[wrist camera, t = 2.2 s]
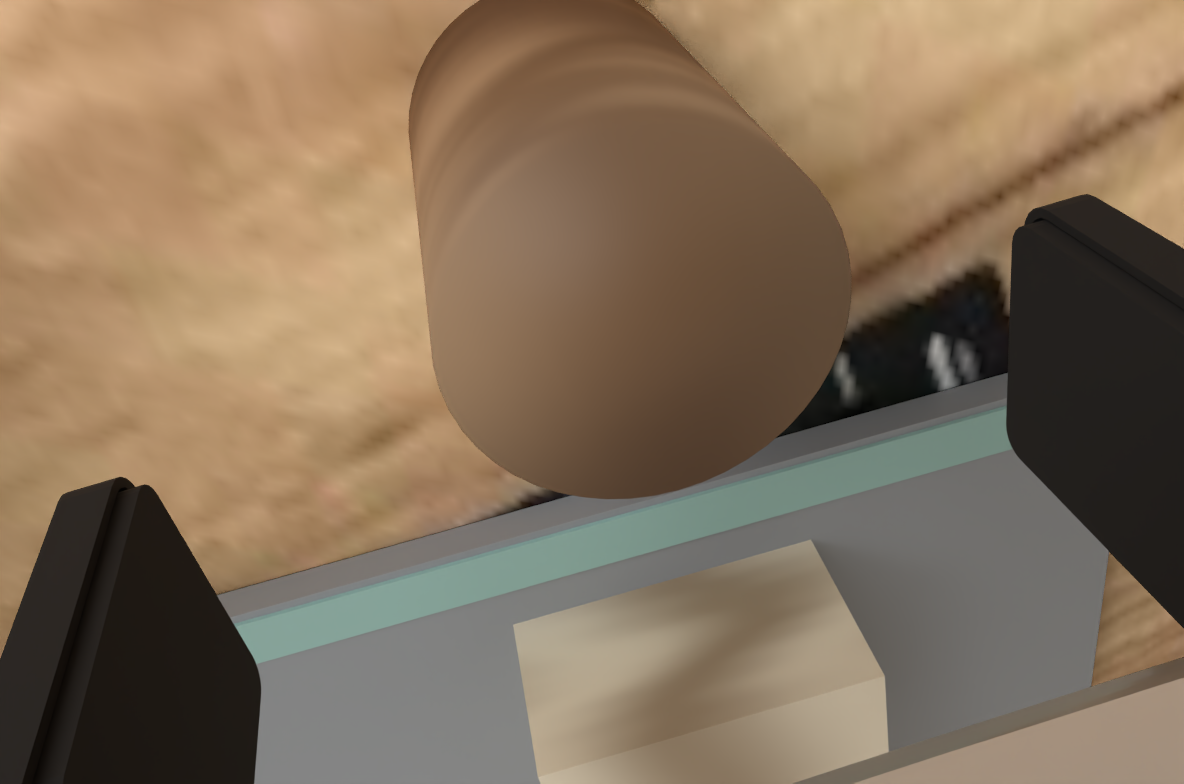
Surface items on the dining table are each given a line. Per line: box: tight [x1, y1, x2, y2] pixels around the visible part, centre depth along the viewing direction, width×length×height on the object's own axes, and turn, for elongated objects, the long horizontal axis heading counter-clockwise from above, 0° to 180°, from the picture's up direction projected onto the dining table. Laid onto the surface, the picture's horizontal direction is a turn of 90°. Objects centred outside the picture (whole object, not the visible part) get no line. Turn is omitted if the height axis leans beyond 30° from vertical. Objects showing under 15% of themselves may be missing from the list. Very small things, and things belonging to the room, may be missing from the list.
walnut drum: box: [409, 0, 851, 499], centre depth 15 cm, size 5×5×7 cm
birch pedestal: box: [513, 540, 889, 784], centre depth 23 cm, size 7×7×4 cm
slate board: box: [217, 373, 1109, 784], centre depth 25 cm, size 22×12×1 cm, turn 102°
